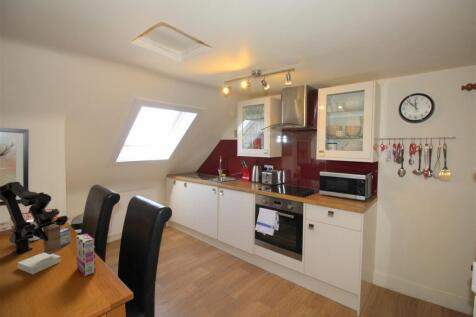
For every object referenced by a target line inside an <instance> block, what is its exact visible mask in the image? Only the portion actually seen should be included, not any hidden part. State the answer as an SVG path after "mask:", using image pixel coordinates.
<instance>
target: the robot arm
mask: <svg viewBox="0 0 476 317" xmlns="http://www.w3.org/2000/svg"><path fill="white" fill-rule="evenodd" d="M17 198H19V199H20V204H21V205H23V206H24V207H29V209H28V212H27V213H28V214H31V217H32V219H34V220H33V221H34V222H36V224H37V225H36V226H35V224H31V223H30V222H26V221H27V220H25V218H24V215H23V213H22V210H21V208H20V205H19V203H18V202H19V201H18V200H17ZM0 201H2V202H3V203H4V204H5V205H6V208H7V212H8V213H9V217H10V219H11V222H12V225H13V227H12V230H11V234H10V236H9V238H8V239H9V242H10V243H12V244H14V249H13V250H12V251H11V252H12V253H15V254H17V255H19V254H22V253H25V252H28V251H31V250H33V247H30V242H29V239H30V238H33V236H36V237H38V238H41V240H44V241H46V242H47V241H48V239H47V237H46V235H45V234H44V232H43V229H42V228H43V227H45V226H49V225H52V224H56V225H59V226H60V227H62V226H65V224H66V223H67V222H68V220H69V217H68V216H67V215H62V216H58V215H59V214H60V211H59V210H58V208H53V209H52V210H50V211H47V210H46V208H47V207H48V206H49V204H50V202H51V201H52V196H51V195H49V194H48V193H44V192H36V191H30V190H29V189H27V188H26V187H25V186H23V185H22V183H21V182H20V181H11V182H7V183H5V184H4V185H1V186H0ZM57 216H58V217H57ZM55 217H57V218H56V220H54V219H55Z"/></svg>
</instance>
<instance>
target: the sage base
mask: <svg viewBox="0 0 476 317" xmlns="http://www.w3.org/2000/svg"><path fill="white" fill-rule="evenodd" d="M61 261H62V260H61V255H58V254H55V253H53V254H50V255H49V254H47V253H44V252H42V253H39V254H36V255H33V256H31V257H29V258H25V259H23V260H20V261H18V262H17V269H19V270H21V271H24V272H26V273H29V274H31V275H34V274H37V273H39V272H41V271H43V270H45V269H48V268H51V267H53V266H54V265H56V264H60V263H61Z"/></svg>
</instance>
